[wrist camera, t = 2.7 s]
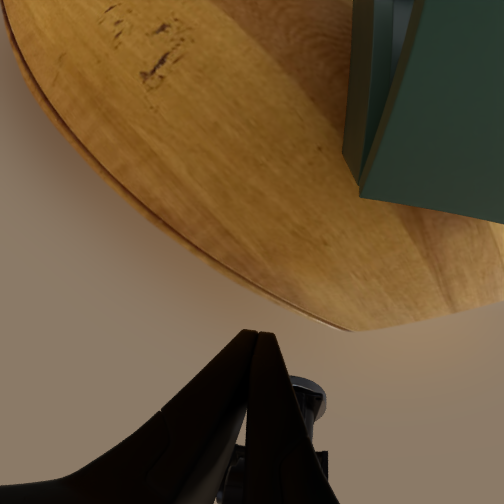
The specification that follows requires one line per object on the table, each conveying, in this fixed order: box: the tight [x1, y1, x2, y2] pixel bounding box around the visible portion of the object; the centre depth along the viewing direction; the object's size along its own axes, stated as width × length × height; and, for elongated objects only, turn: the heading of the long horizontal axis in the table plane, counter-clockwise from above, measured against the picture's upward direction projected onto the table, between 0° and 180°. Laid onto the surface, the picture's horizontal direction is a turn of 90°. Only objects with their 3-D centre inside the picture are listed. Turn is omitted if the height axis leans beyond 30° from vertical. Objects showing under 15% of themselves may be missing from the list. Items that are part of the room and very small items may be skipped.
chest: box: [342, 0, 414, 186], centre depth 11 cm, size 13×11×7 cm
